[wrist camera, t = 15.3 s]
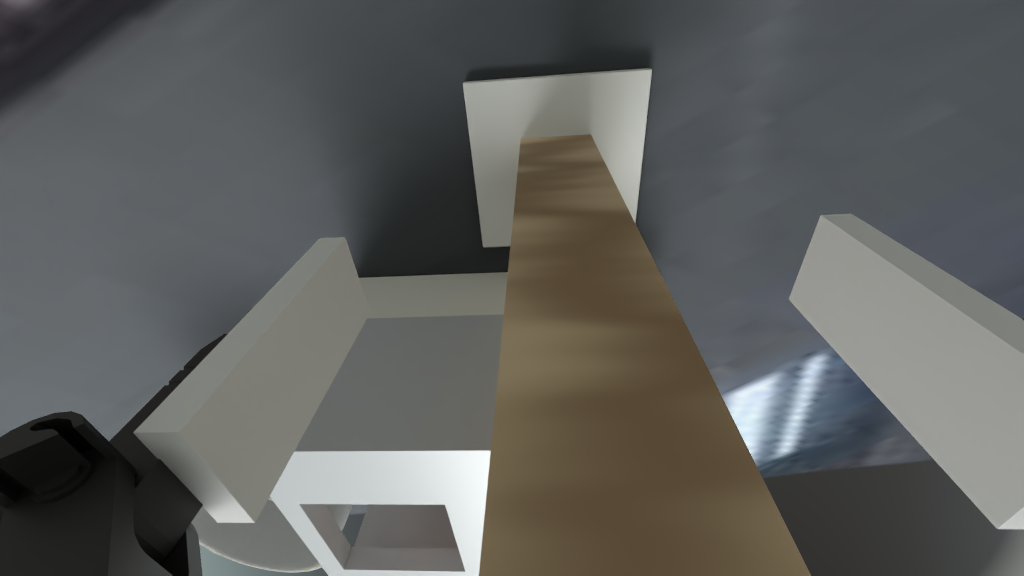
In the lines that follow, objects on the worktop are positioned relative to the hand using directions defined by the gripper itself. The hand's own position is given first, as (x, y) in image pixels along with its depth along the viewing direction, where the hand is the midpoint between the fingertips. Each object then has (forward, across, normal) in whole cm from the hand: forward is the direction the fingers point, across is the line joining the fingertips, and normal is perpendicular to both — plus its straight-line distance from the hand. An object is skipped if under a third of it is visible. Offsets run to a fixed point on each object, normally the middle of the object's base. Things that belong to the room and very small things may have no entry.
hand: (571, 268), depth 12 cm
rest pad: (+10, 0, 0) cm, 10 cm away
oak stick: (+9, 0, 0) cm, 9 cm away
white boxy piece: (+10, -4, -12) cm, 16 cm away
